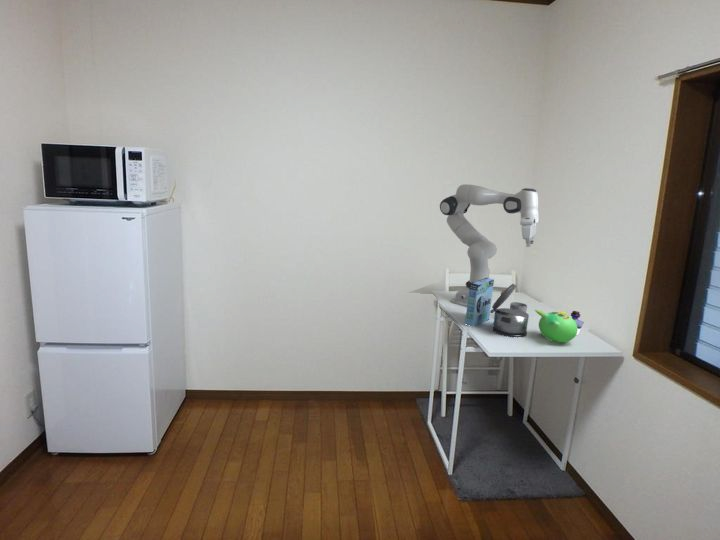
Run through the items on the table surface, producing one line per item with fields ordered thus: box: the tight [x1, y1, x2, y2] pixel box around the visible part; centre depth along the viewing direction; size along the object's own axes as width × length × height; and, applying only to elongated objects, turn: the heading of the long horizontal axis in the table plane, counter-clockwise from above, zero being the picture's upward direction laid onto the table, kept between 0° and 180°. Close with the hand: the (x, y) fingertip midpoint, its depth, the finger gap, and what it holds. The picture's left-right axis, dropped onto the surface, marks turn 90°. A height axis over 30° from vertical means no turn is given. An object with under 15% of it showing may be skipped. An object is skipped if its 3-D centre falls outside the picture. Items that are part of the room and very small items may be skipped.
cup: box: [509, 301, 528, 313], centre depth 240 cm, size 8×8×10 cm
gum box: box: [464, 277, 495, 327], centre depth 234 cm, size 20×5×23 cm, turn 139°
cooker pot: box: [492, 307, 530, 338], centre depth 223 cm, size 17×21×10 cm
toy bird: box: [534, 309, 578, 343], centre depth 213 cm, size 18×17×15 cm
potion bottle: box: [570, 310, 584, 336], centre depth 225 cm, size 9×9×12 cm
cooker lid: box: [490, 283, 517, 314], centre depth 223 cm, size 18×16×4 cm
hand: (530, 245), depth 236 cm, fingers open, 8 cm apart
